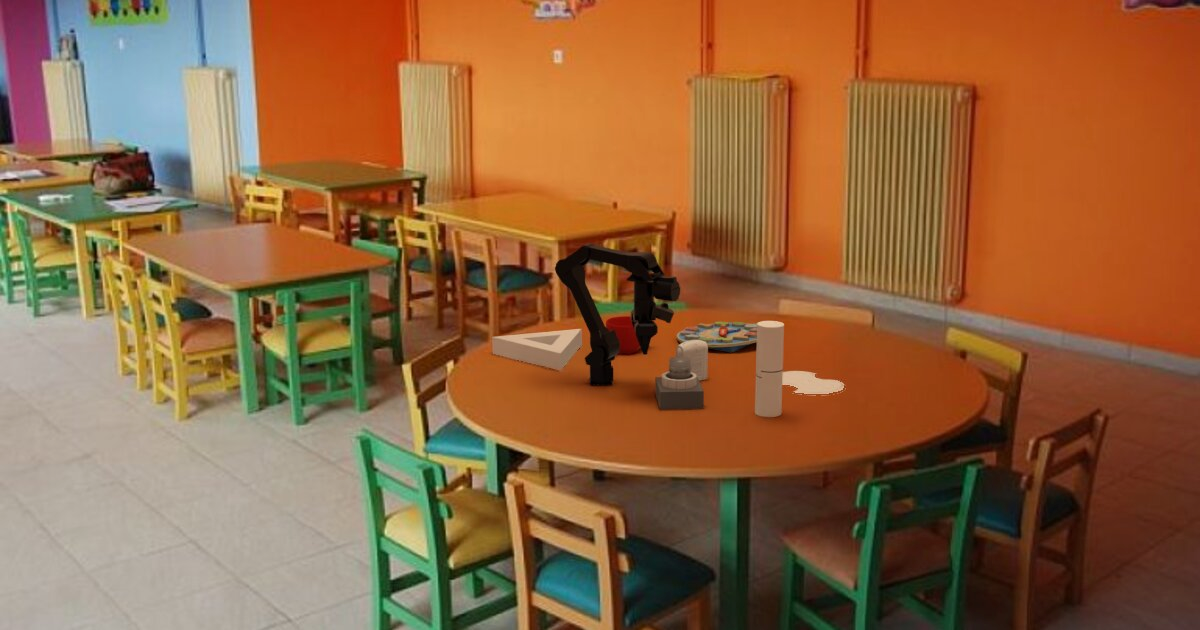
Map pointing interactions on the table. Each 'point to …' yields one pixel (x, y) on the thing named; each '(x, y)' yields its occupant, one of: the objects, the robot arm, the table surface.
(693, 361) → the white rounded device
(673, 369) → the grey rounded block
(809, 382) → the white puddle shape
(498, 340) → the triangle block
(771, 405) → the cylindrical container
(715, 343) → the shape sorting clock
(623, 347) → the ceramic cup
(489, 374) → the table surface
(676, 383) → the gray ring-topped block
